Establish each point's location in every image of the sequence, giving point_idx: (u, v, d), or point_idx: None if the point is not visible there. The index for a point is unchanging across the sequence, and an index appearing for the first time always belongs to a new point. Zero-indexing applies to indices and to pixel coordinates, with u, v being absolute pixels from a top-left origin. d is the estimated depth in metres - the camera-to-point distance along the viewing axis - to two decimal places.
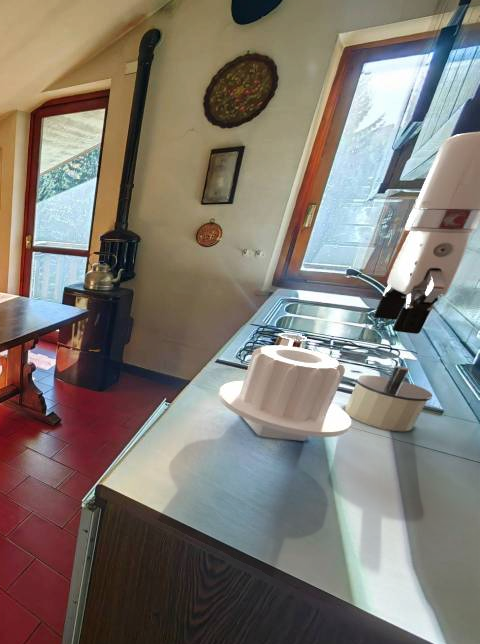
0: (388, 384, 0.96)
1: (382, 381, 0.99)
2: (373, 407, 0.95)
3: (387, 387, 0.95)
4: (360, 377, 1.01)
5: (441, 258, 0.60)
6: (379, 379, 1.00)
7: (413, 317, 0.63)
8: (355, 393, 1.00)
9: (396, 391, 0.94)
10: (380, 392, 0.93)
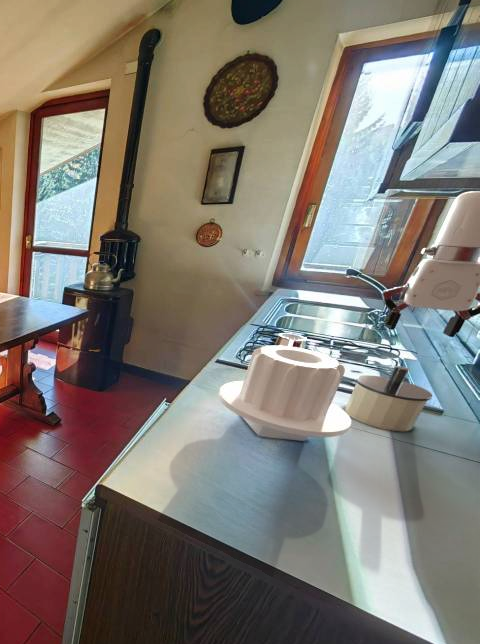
0: (388, 384, 0.96)
1: (382, 381, 0.99)
2: (373, 407, 0.95)
3: (387, 387, 0.95)
4: (360, 377, 1.01)
5: (412, 277, 0.87)
6: (379, 379, 1.00)
7: (388, 316, 0.91)
8: (355, 393, 1.00)
9: (396, 391, 0.94)
10: (380, 392, 0.93)
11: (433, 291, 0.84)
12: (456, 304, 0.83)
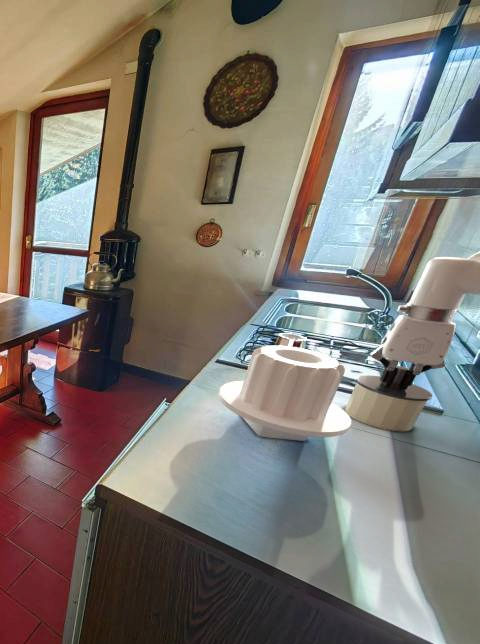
0: None
1: None
2: (373, 407, 0.95)
3: (387, 387, 0.95)
4: (360, 377, 1.01)
5: (389, 331, 0.93)
6: (379, 379, 1.00)
7: (384, 373, 0.96)
8: (355, 393, 1.00)
9: (396, 391, 0.94)
10: (380, 392, 0.93)
11: (408, 346, 0.90)
12: (429, 359, 0.89)
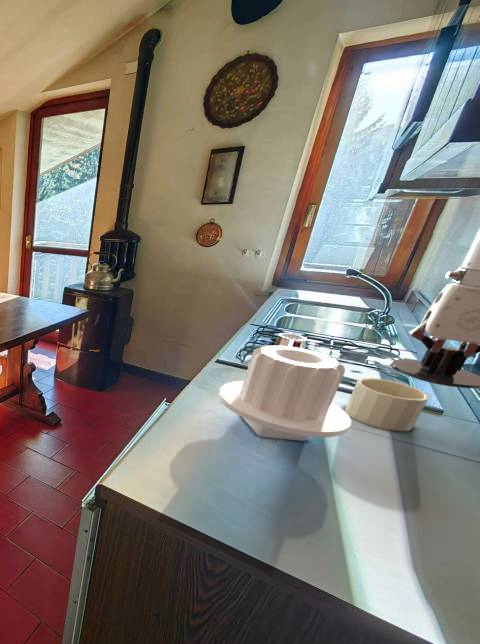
0: None
1: None
2: (373, 407, 0.95)
3: (430, 372, 0.79)
4: (395, 361, 0.84)
5: (435, 304, 0.76)
6: (418, 363, 0.83)
7: (426, 355, 0.79)
8: (355, 393, 1.00)
9: (442, 376, 0.77)
10: (423, 378, 0.77)
11: (459, 321, 0.73)
12: None
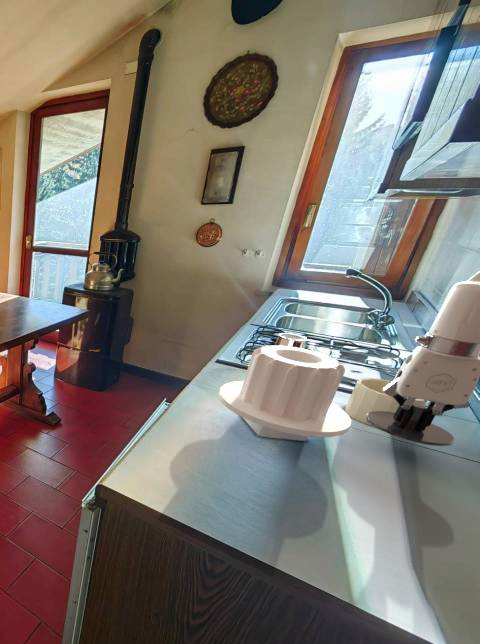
0: None
1: None
2: (373, 407, 0.95)
3: (402, 427, 0.84)
4: (370, 413, 0.89)
5: (405, 364, 0.81)
6: (392, 416, 0.88)
7: (398, 411, 0.84)
8: (355, 393, 1.00)
9: (412, 432, 0.82)
10: (394, 434, 0.82)
11: (427, 383, 0.78)
12: (452, 398, 0.77)
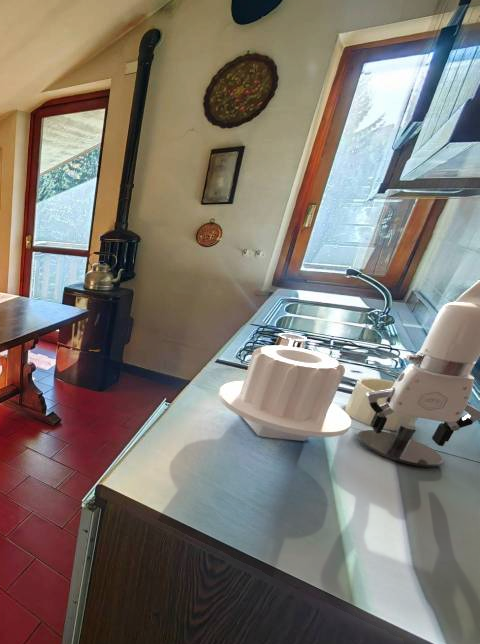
0: (393, 443, 0.86)
1: (386, 438, 0.89)
2: None
3: (392, 447, 0.86)
4: (361, 432, 0.91)
5: (398, 382, 0.83)
6: (383, 435, 0.90)
7: (374, 418, 0.87)
8: (355, 393, 1.00)
9: (401, 453, 0.84)
10: (384, 454, 0.84)
11: (419, 401, 0.80)
12: (444, 415, 0.79)
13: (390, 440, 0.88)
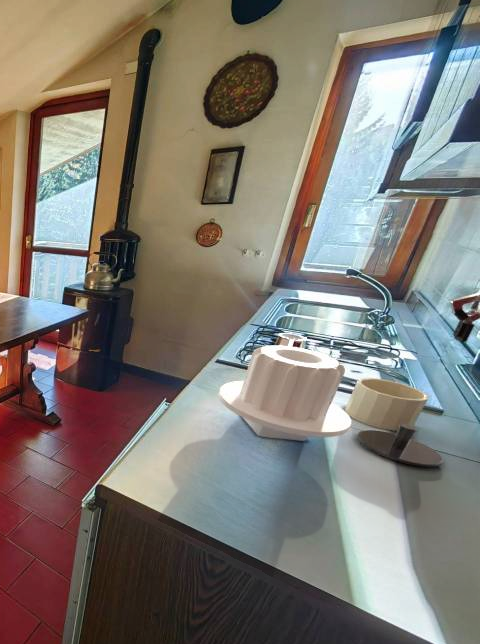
0: (393, 443, 0.86)
1: (386, 438, 0.89)
2: (373, 407, 0.95)
3: (392, 447, 0.86)
4: (361, 432, 0.91)
5: None
6: (383, 435, 0.90)
7: (458, 327, 0.83)
8: (355, 393, 1.00)
9: (401, 453, 0.84)
10: (384, 454, 0.84)
11: None
12: None
13: (390, 440, 0.88)
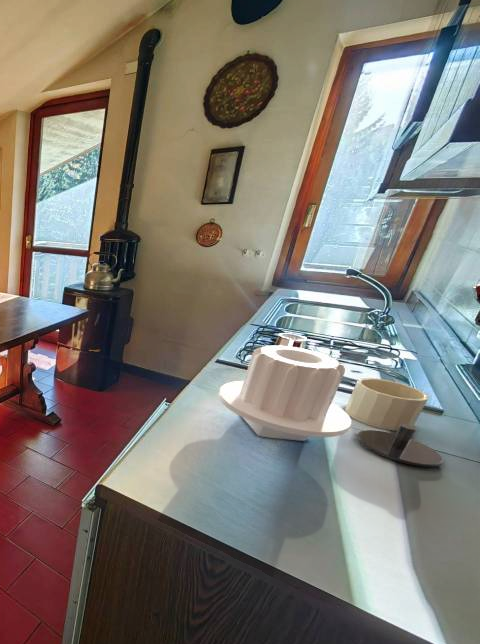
0: (393, 443, 0.86)
1: (386, 438, 0.89)
2: (373, 407, 0.95)
3: (392, 447, 0.86)
4: (361, 432, 0.91)
5: None
6: (383, 435, 0.90)
7: None
8: (355, 393, 1.00)
9: (401, 453, 0.84)
10: (384, 454, 0.84)
11: None
12: None
13: (390, 440, 0.88)
